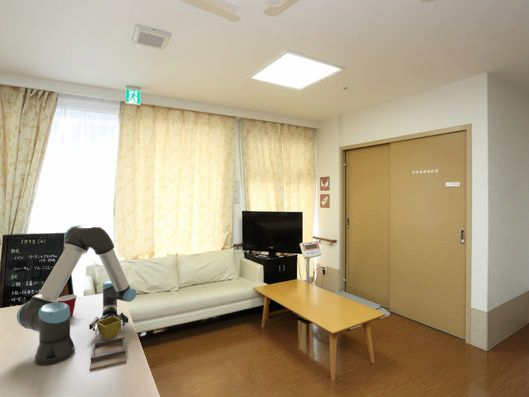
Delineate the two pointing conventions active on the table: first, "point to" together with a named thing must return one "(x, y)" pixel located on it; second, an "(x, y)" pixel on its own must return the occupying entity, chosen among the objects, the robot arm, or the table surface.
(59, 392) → the table surface
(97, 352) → the tray
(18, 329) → the table surface
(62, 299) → the plastic cup
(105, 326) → the flower pot
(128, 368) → the table surface
